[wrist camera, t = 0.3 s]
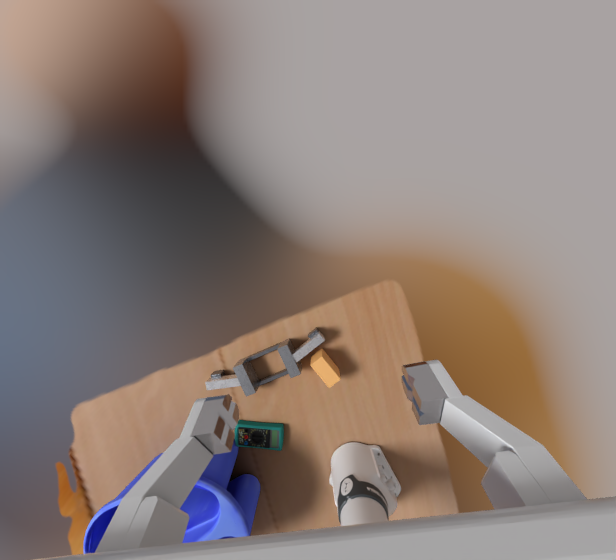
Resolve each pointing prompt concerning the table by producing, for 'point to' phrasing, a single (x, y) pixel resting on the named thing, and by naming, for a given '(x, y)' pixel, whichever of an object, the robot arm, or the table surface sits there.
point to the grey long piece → (250, 381)
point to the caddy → (199, 504)
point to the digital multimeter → (259, 435)
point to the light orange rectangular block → (325, 368)
